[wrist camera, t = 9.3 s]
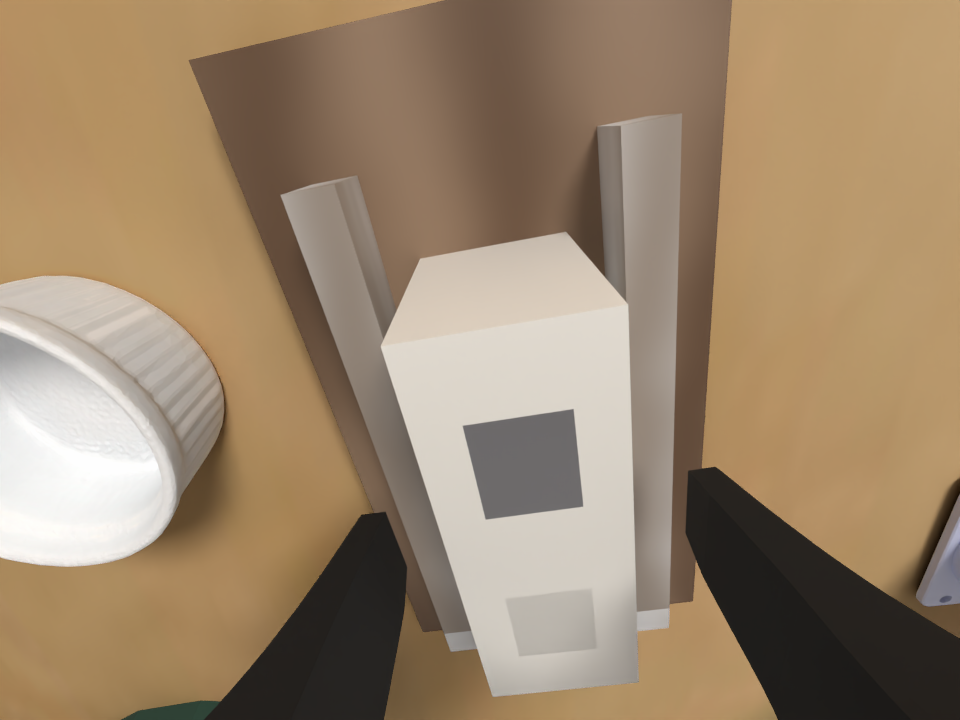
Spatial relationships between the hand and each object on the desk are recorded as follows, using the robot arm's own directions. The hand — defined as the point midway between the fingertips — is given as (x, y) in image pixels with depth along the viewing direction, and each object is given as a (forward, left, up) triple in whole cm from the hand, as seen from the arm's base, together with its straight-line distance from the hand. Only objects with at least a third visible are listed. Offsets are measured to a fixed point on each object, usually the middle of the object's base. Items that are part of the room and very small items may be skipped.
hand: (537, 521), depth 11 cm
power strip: (0, 0, -4) cm, 4 cm away
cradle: (0, 0, -6) cm, 6 cm away
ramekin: (+14, -3, -6) cm, 16 cm away
